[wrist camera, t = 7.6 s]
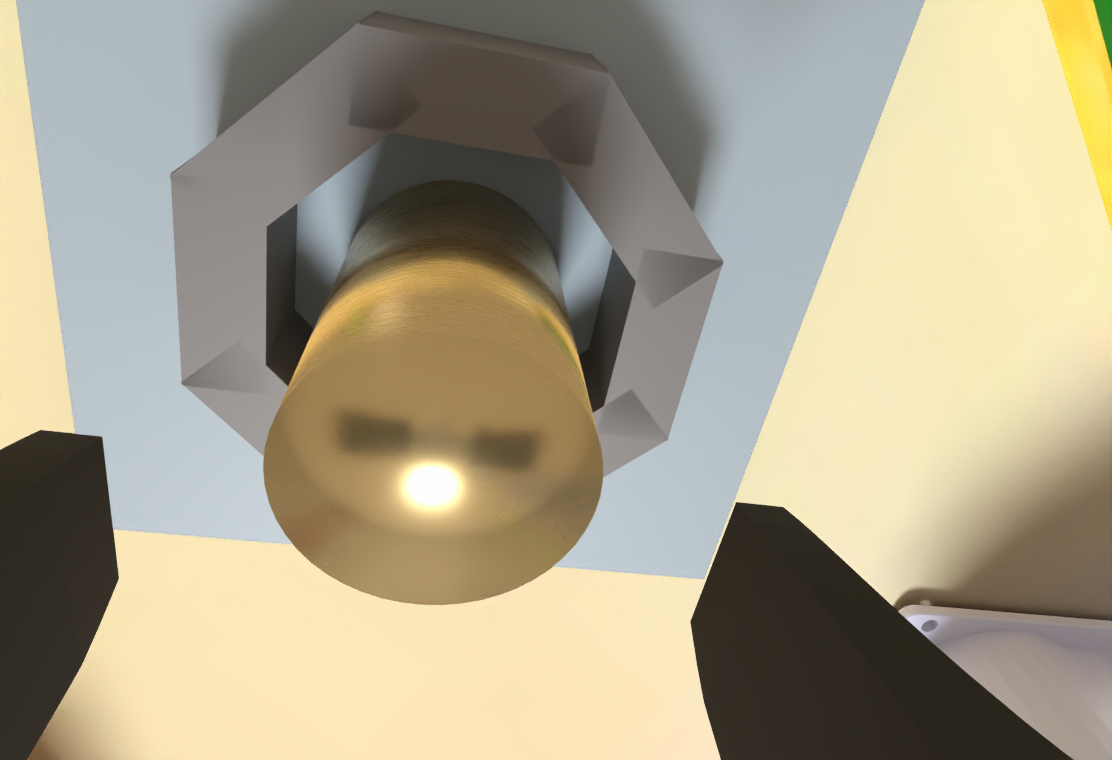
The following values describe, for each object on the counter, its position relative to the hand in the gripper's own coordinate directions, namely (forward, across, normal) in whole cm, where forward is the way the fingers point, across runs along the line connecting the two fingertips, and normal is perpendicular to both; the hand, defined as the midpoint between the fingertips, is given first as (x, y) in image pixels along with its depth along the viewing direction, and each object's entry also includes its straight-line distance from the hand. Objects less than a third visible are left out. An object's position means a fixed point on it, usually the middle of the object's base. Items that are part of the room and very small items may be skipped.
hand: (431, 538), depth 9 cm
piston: (+8, 0, 0) cm, 8 cm away
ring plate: (+9, 0, 0) cm, 9 cm away
